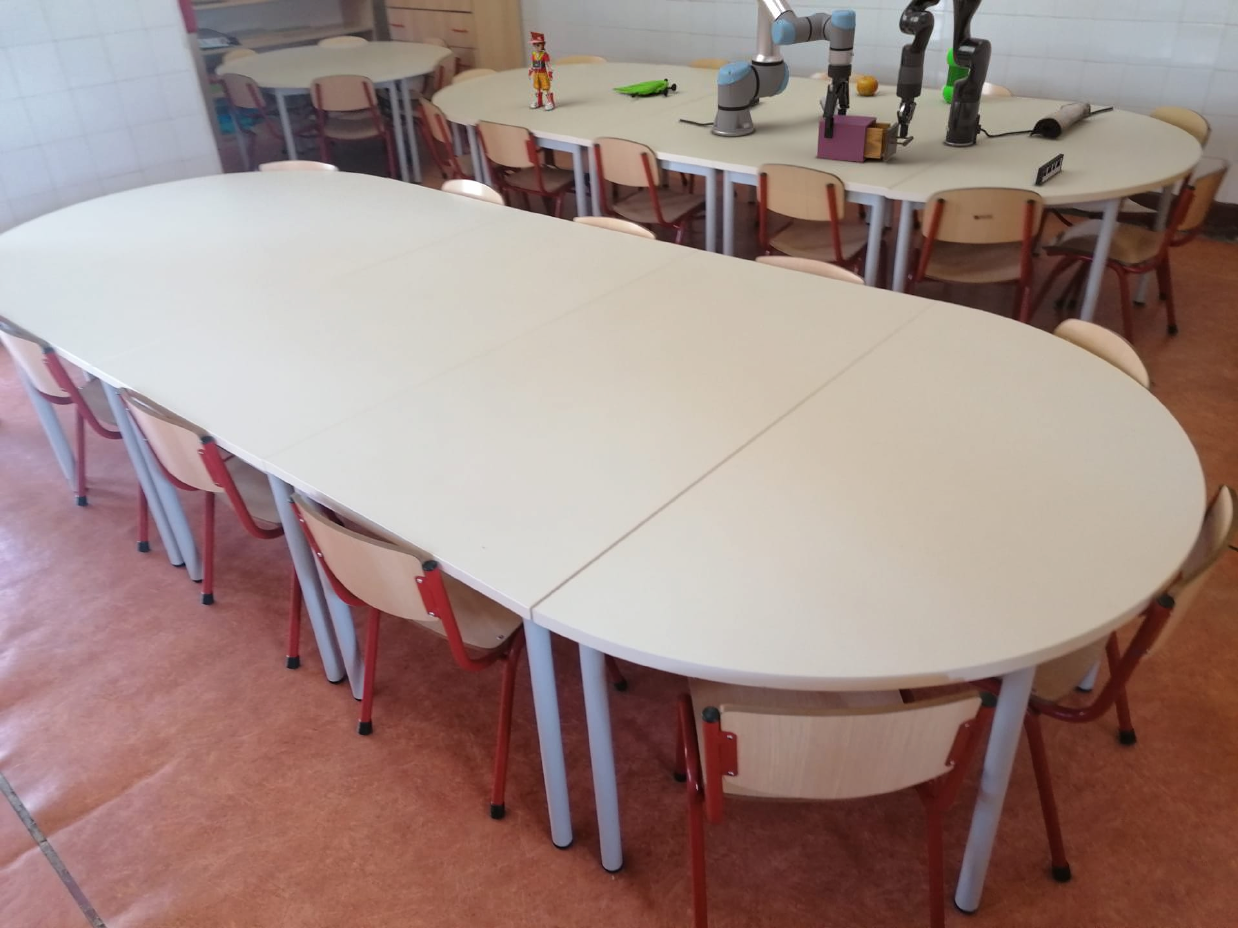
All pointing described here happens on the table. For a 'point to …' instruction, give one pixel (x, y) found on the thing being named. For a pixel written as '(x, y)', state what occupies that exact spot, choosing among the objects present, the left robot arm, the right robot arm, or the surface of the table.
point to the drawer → (883, 140)
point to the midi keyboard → (1049, 169)
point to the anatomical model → (822, 103)
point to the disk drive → (753, 102)
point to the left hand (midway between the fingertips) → (834, 133)
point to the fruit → (867, 85)
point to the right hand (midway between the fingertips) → (903, 136)
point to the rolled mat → (1061, 120)
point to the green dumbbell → (953, 76)
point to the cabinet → (844, 138)
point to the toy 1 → (541, 71)
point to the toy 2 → (648, 88)
